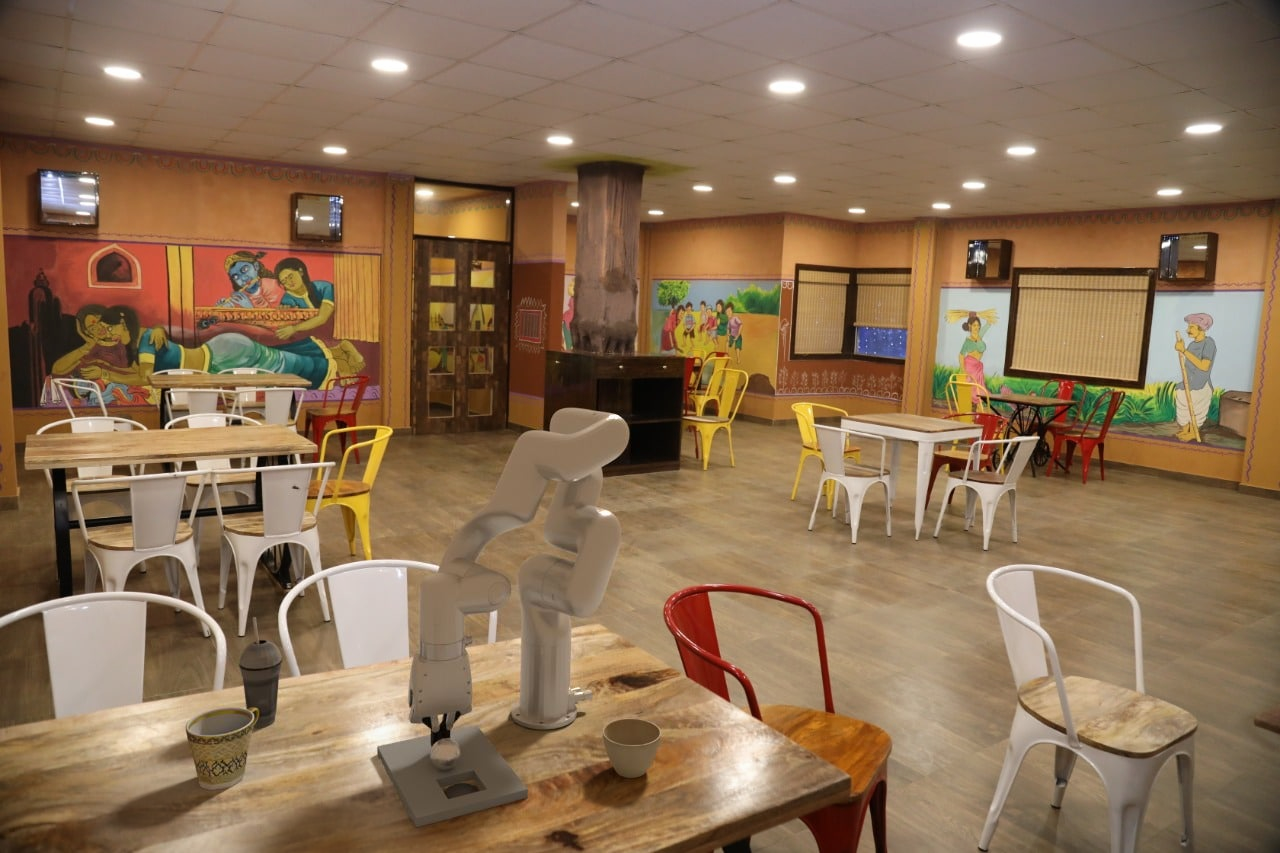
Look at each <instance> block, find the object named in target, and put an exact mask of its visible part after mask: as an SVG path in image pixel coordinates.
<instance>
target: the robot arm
mask: <svg viewBox="0 0 1280 853" xmlns="http://www.w3.org/2000/svg"><path fill="white" fill-rule="evenodd" d="M629 440H630V428H629V426H628V423H627V422H626V421H625V418H622V416H620V415H618V414H616V413H611V412H606V411H597V410H593V409H592V410H591V409H587V408H579V407H565V408H561V409H559V410H557V411H555V413H553V415H552V417H551V419H550V424H549V431H547V430H538V429H537V430H533V429H532V430H528V431H525V432H523V433H522V434H521V435H520V436H519V437H518V439H516V442H515V444H514V446H513V448H512V450H511V453H510V455H509V457H508V460H507V461H506V464H505V466H504V469H503V470H502V473H501V475H500V478H499V479H498V482H497V484H496V486H495V488H494V489H493V490H494V491H493V492H492V496H491V497H490V498H489V501H488V502H487V504H485V505H484V506H483V507H482V508H481V509H479V510H477V512H475V514H473V515H472V516H471V517H469V519H468V520H466V521H465V523H464V524H462V525H461V527H459V529H458V530H457V531H456V532H455V533H454V535H453V536H452V537H451V540H450V541H449V543H448V546H447V547H446V550H445V552H444V554H443V557H442V559H441V560H440V564H439V566H438V569H437V572H434V573H431V574H427V575H425V576H423V578H422V579H421V580H420V583H419V587H418V588H419V589H418V590H419V591H418V592H419V594H418V601H419V602H418V653H414V654H413V657H412V662H411V666H410V671H409V673H410V674H409V681H408V693H407V697H408V698H407V704H408V705H407V706H408V707H409V709H410V710H409V714H408V720H409V722H410V724H417V725H421V724H422V725H425V726H426V727H427V728H428V729H430V735H431V747H433V745H434V744H435V743H436V742H437V741H438V740H440V739H443V738H450V731H451V730H453V728H454V725H455V723H456V722H457V721H458V720H459V719H460V717H462V716H465V715H467V714H470V713H472V711H473V707H472V706H473V705H472V704H473V703H472V702H473V682H472V681H473V680H472V669H471V664H470V658H469V657H470V656H469V653H468V651H467V649H466V648H467V646H468V645H472V644H473V637H472V635H470V636H468V635H465V634H466V633H465V632H466V631H465V627H466V625H465V624H466V623H465V621H466V617H467V616H471V615H481V614H483V615H484V614H490V613H493V612H495V611H496V612H497V611H498V610H500V609H502V608H503V607H504V606H505V605H506V604H507V603H508V601H509V599H510V598H511V594H512V585H511V581H510V579H509V578H508V577H507V575H505V574H504V573H503V572H501V571H499V570H497V569H494V568H491V567H489V566H486V565H483V564H480V563H477V562H478V560H479V557H480V556H481V553H482V552H483V550H484V549H485V548H486V547H487V545H488V544H489V543H490V542H491V541H493V540H494V539H495V538H497V537H498V536H500V535H502V534H504V533H506V532H510V531H513V530H516V529H519V528H522V527H525V526H528V525H530V524H531V523H532V522H533V521H534V520H535V517H536V515H537V512H538V509H539V507H540V505H541V503H542V500H543V498H544V496H545V493H546V492H547V489H548V486H549V485H550V482H551V480H552V481H556V482H557V485H556V488H555V490H554V493H553V496H552V499H551V502H550V504H549V505H550V506H549V507H548V509H547V513H546V515H545V519H544V523H543V527H542V536H543V540H544V541H545V543H547V544H548V545H549V546H550V547H551V548H552V547H553V549H557V550H560V551H563V552H566V553H569V554H573V555H576V556H575V560H574V561H573V560H570V559H566V558H564V557H559V556H556V555H553V554H548V553H537V554H533V555H531V556H528V557H527V558H526V559H525V560H524V561H523V562H522V564H521V565H520V566H519V569H518V573H517V578H516V586H517V587H516V588H517V595H518V599H519V606H520V615H521V616H520V617H521V631H520V632H521V636H520V676H519V677H520V680H519V700H518V701H516V703H514V705H513V706H512V708H511V718H512V720H513V721H514V722H515V723H516V724H518V725H520V726H522V727H525V728H528V729H532V730H545V731H546V730H554V729H559V728H563V727H565V726H567V725H569V724H571V723H573V722H574V721H575V720H576V718H577V716H578V707H577V706H576V705H577V704H579V702H585V701H590V700H592V699H593V692H592V690H591V689H586V690H581V687H579V686H577V687H573V688H571V659H572V656H571V655H572V654H571V653H572V652H571V651H572V621H571V617H574V618H579V619H580V618H581V619H583V618H587V617H590V616H591V615H593V614H594V613H595V611H596V610H597V609H598V608H599V606H600V605H601V602H602V601H603V598H604V597H605V596H604V595H605V592H606V590H607V586H608V584H609V580H610V578H611V575H612V572H613V570H614V566H615V564H616V560H617V557H618V555H619V554H618V553H619V551H620V547H621V542H622V526H621V523H620V521H619V518H618V517H617V516H616V515H615V514H614V513H613V512H611V511H610V510H607V509H605V508H601V507H598V503H599V499H600V496H601V493H602V489H603V483H604V475H603V469H602V467H603V468H604V466H606V465H608V464H609V463H611V462H612V461H614V460H616V459H617V458H618V457H620V456H621V455H622V453H623V452H624V451H625V449H627V446H628V444H629ZM441 715H442V716H441ZM439 716H441V722H440V721H439ZM439 722H440V723H439Z"/></svg>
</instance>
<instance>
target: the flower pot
mask: <svg viewBox="0 0 1280 853" xmlns="http://www.w3.org/2000/svg"><path fill="white" fill-rule="evenodd" d="M661 737H662V730H661V728H660V727H659V726H658V725H656V723H654V722H651V721H649V720H647V719H641V718H632V717H630V718H629V717H627V718H619V719H615V720H612V721H610V722H608V723H607V724H605V726H604V727H603V728H602V738H603V739H602V740H603V744H604V749H605V751H606V754H607V757H608V759H609V761H610V764H611V765H612V767H613V769H614V771H615V772H616V773H617V774H618V775H619V776H621V777H623V778H626V779H627V778H628V779H635V778H639V777H641V776H644V775H645V773H646V772H647V771H648V770H649V768H650V766H651V764H652V763H653V761H654V760H655V757H656V755H657V752H658V750H659V746H660V742H661Z"/></svg>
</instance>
